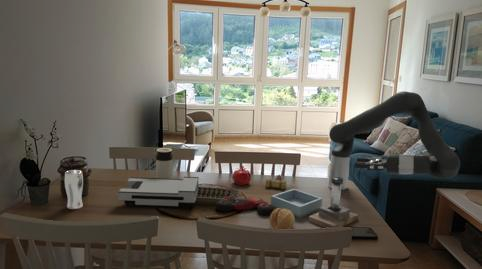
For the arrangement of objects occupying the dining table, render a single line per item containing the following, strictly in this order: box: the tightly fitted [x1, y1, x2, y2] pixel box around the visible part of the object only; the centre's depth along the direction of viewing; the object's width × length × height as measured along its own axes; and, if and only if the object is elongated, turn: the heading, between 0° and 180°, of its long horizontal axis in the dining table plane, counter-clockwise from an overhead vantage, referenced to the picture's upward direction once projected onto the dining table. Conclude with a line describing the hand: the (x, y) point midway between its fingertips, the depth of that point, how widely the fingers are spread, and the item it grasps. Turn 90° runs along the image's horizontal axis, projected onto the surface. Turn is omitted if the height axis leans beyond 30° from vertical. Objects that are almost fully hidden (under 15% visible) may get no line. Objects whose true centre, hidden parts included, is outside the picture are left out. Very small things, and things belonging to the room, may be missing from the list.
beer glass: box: [64, 169, 84, 210], centre depth 161 cm, size 7×7×15 cm
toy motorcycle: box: [215, 196, 275, 216], centre depth 170 cm, size 25×5×16 cm
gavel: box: [265, 174, 287, 190], centre depth 206 cm, size 21×5×10 cm
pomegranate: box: [231, 165, 252, 186], centre depth 201 cm, size 10×10×9 cm
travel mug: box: [155, 147, 173, 179], centre depth 193 cm, size 8×8×18 cm
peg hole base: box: [308, 202, 359, 229], centre depth 161 cm, size 18×12×5 cm, turn 134°
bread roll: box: [269, 208, 296, 230], centre depth 149 cm, size 10×15×8 cm, turn 168°
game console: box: [117, 176, 200, 210], centre depth 173 cm, size 21×32×8 cm, turn 91°
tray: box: [270, 188, 323, 219], centre depth 172 cm, size 16×16×5 cm
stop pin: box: [329, 177, 344, 212], centre depth 159 cm, size 5×5×16 cm
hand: (356, 162), depth 154 cm, fingers open, 8 cm apart
